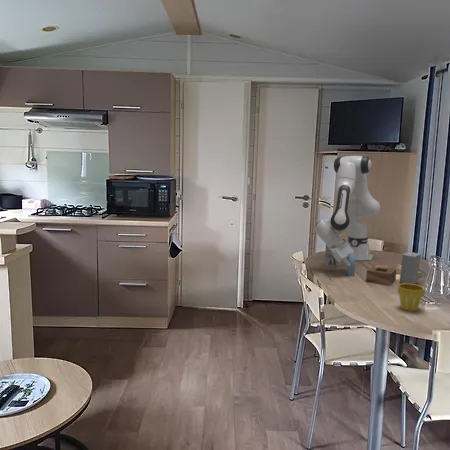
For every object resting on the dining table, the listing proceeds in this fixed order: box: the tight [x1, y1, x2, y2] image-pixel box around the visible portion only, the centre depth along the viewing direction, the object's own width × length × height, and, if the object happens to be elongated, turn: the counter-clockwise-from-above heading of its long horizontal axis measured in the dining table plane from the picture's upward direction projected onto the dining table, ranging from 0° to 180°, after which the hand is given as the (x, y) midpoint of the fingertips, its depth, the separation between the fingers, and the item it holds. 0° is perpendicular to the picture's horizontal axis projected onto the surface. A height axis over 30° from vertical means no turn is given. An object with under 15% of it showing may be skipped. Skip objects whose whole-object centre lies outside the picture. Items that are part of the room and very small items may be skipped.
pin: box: [346, 253, 356, 277], centre depth 240 cm, size 4×4×12 cm
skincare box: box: [399, 251, 422, 284], centre depth 225 cm, size 8×7×16 cm
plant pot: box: [397, 283, 425, 312], centre depth 187 cm, size 10×10×10 cm
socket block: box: [365, 266, 397, 287], centre depth 229 cm, size 12×12×6 cm
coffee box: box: [324, 244, 343, 268], centre depth 262 cm, size 9×6×16 cm
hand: (352, 264), depth 240 cm, fingers open, 6 cm apart
